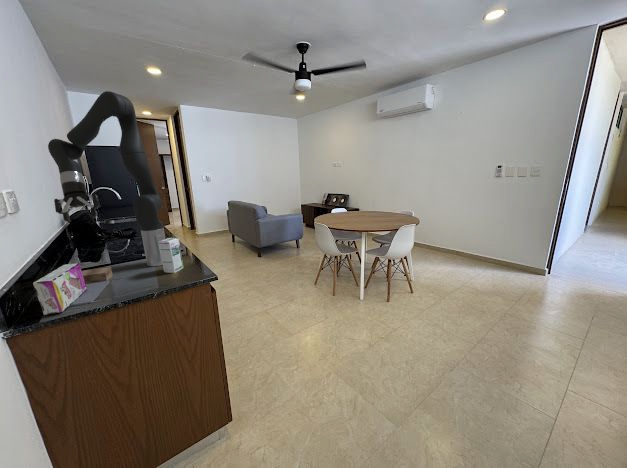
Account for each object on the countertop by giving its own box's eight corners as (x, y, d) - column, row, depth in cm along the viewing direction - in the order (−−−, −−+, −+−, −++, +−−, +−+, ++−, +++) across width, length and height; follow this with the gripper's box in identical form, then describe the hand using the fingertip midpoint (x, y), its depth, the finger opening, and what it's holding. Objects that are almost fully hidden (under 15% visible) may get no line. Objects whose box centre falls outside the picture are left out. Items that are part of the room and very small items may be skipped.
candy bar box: (88, 289, 95) (63, 312, 80) (72, 292, 93) (43, 316, 78) (80, 261, 92) (52, 280, 77) (63, 264, 90) (30, 283, 75)
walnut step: (112, 275, 109) (110, 266, 108) (107, 281, 103) (105, 272, 102) (83, 279, 105) (81, 270, 104) (76, 286, 99) (73, 277, 98)
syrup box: (175, 273, 110) (169, 241, 107) (163, 272, 111) (157, 240, 108) (184, 268, 116) (179, 237, 112) (172, 267, 117) (167, 237, 113)
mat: (109, 281, 103) (109, 280, 103) (91, 303, 86) (91, 301, 86) (72, 287, 98) (71, 286, 98) (45, 310, 82) (45, 309, 82)
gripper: (46, 183, 102) (54, 221, 100) (89, 178, 108) (98, 213, 106) (57, 190, 109) (64, 225, 107) (97, 185, 114) (105, 218, 113)
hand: (81, 219), depth 106 cm, fingers open, 8 cm apart
